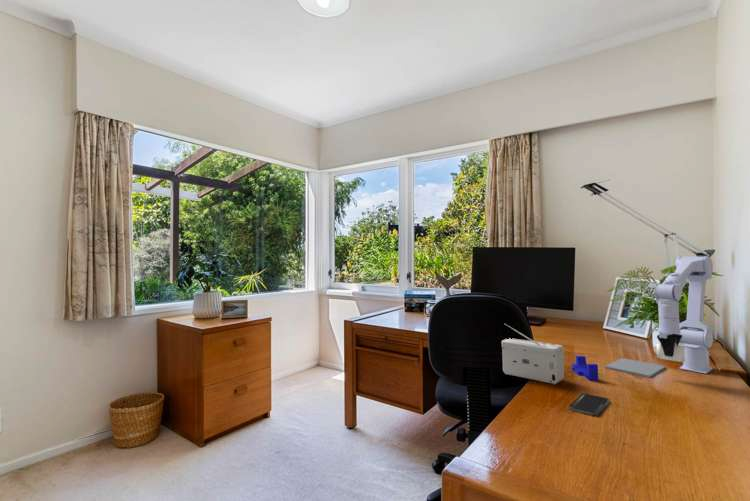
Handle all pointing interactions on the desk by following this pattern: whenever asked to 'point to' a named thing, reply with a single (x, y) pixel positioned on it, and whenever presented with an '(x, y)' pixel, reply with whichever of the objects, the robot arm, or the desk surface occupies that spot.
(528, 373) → the stereo radio cassette player
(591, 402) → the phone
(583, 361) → the blue notched block
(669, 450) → the desk surface
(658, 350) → the connector plug
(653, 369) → the desk mat
